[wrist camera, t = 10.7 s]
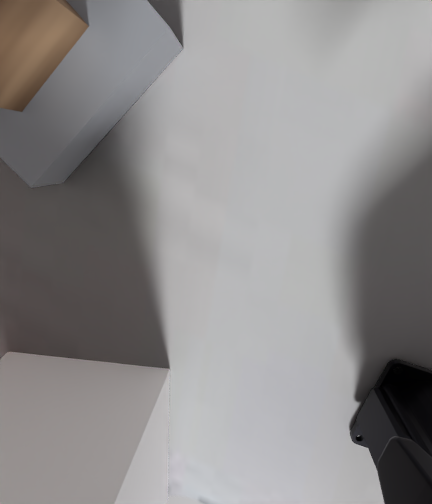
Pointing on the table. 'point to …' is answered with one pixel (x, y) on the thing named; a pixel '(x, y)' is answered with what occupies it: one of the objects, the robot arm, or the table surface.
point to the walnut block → (33, 46)
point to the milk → (82, 431)
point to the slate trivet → (87, 89)
